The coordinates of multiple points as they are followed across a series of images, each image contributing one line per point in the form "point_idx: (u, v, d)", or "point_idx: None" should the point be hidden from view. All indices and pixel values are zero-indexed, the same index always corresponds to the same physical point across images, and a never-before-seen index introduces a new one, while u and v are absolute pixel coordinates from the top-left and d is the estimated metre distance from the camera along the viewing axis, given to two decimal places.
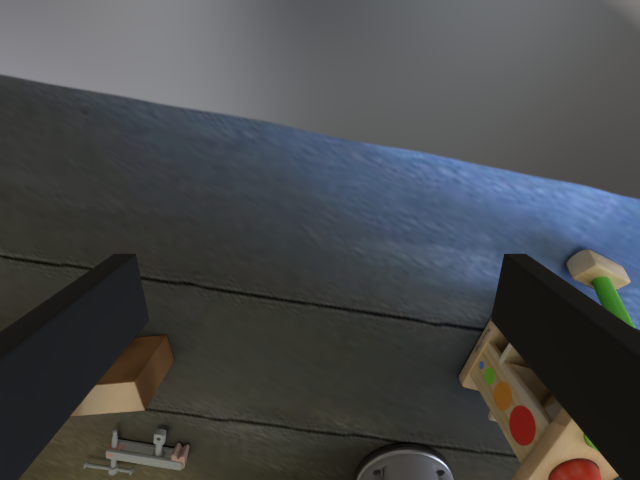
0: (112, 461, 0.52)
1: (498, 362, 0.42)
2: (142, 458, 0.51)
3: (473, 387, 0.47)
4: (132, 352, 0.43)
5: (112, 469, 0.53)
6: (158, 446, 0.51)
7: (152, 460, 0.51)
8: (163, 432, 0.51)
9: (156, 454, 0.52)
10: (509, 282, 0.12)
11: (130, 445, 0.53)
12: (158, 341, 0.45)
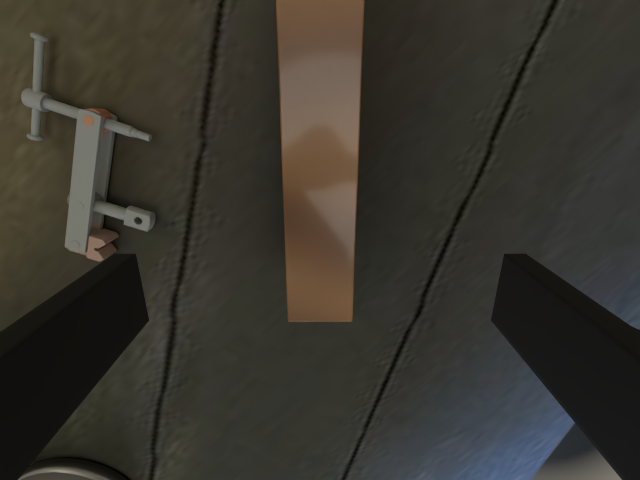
0: (63, 109, 0.25)
1: None
2: (89, 185, 0.26)
3: None
4: None
5: (39, 104, 0.24)
6: (118, 215, 0.27)
7: (86, 203, 0.26)
8: (150, 227, 0.28)
9: (96, 206, 0.27)
10: (509, 282, 0.12)
11: (104, 148, 0.26)
12: None
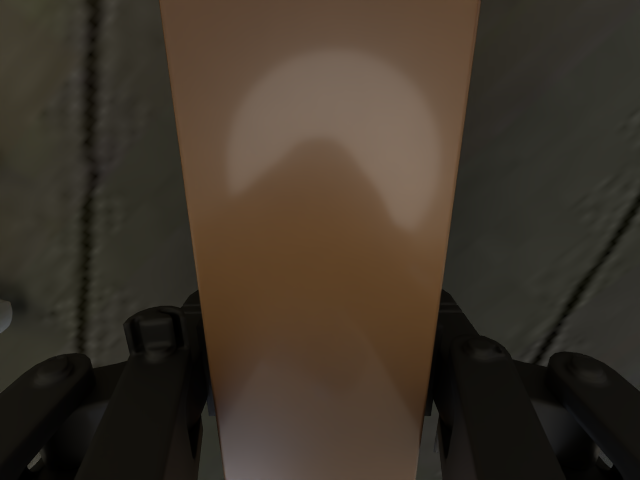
0: None
1: None
2: None
3: None
4: None
5: None
6: None
7: None
8: (1, 328, 0.15)
9: None
10: None
11: None
12: None
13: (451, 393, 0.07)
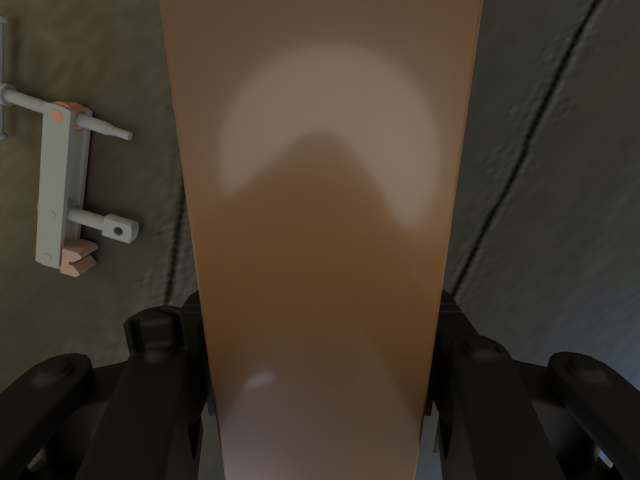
0: (27, 103, 0.21)
1: None
2: (60, 190, 0.22)
3: None
4: None
5: (0, 97, 0.21)
6: (96, 225, 0.24)
7: (57, 211, 0.23)
8: (133, 238, 0.25)
9: (70, 215, 0.23)
10: None
11: (78, 147, 0.23)
12: None
13: (451, 393, 0.07)
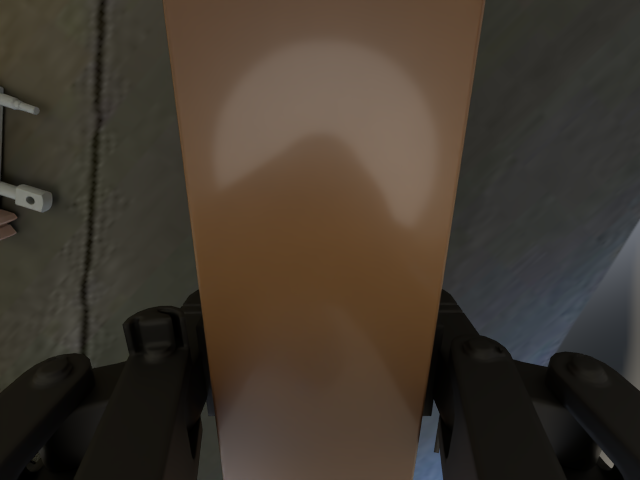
0: None
1: None
2: None
3: None
4: None
5: None
6: (9, 194, 0.26)
7: None
8: (46, 207, 0.26)
9: None
10: None
11: None
12: None
13: (451, 393, 0.07)
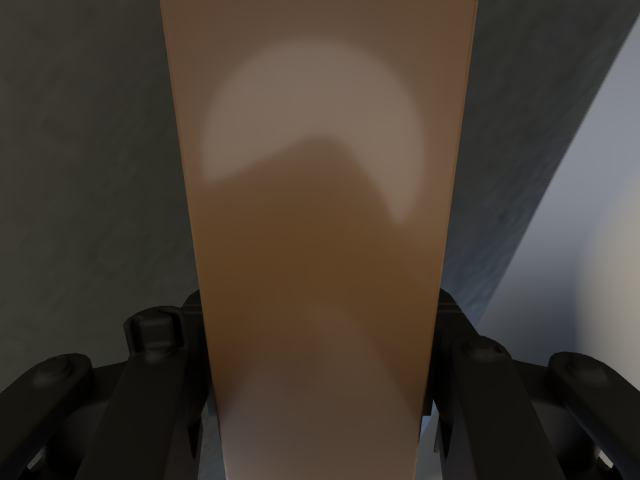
0: None
1: None
2: None
3: None
4: None
5: None
6: None
7: None
8: None
9: None
10: None
11: None
12: None
13: (451, 393, 0.07)
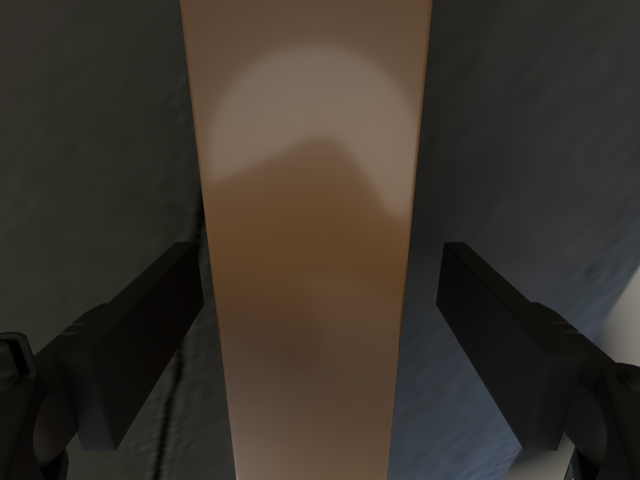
0: None
1: None
2: None
3: None
4: None
5: None
6: None
7: None
8: None
9: None
10: (447, 267, 0.13)
11: None
12: None
13: (598, 425, 0.07)
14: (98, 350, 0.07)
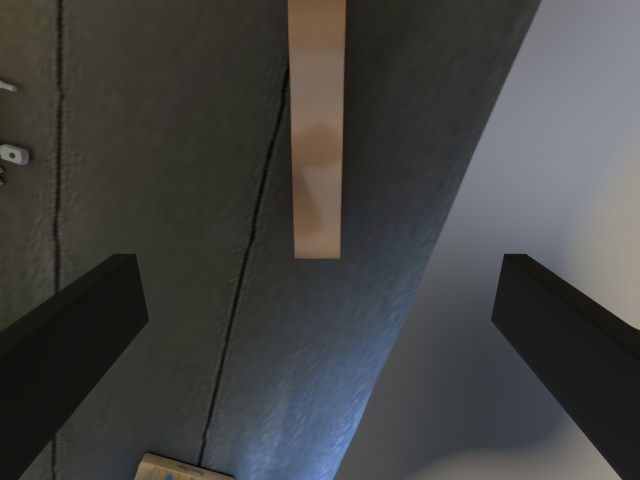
0: None
1: None
2: None
3: (140, 469, 0.51)
4: None
5: None
6: None
7: None
8: (24, 161, 0.36)
9: None
10: (509, 282, 0.12)
11: None
12: None
13: None
14: None
